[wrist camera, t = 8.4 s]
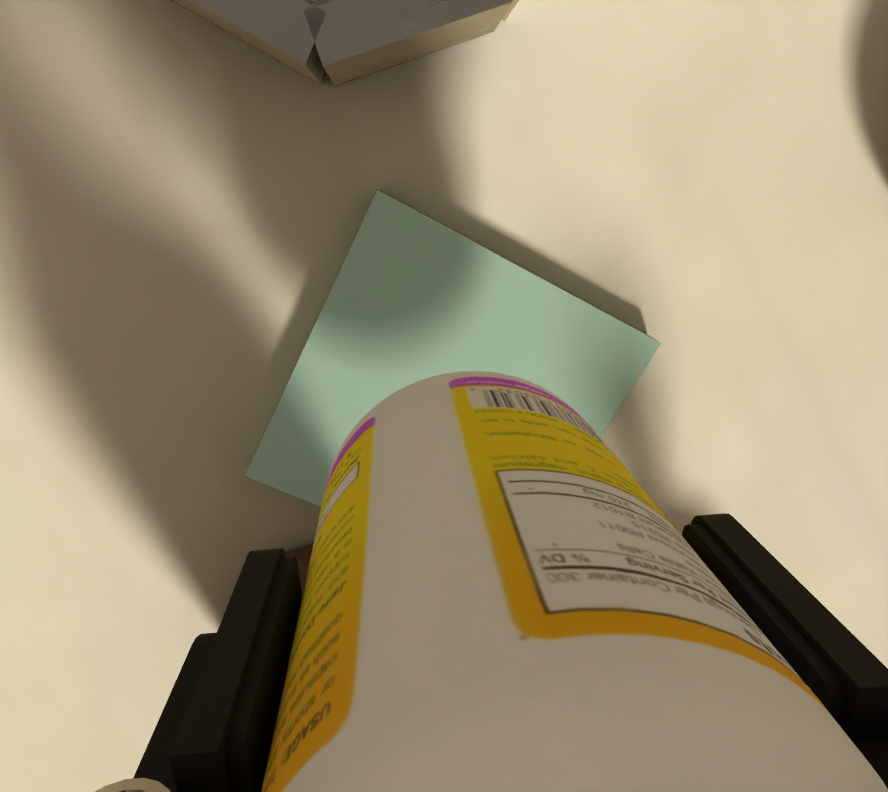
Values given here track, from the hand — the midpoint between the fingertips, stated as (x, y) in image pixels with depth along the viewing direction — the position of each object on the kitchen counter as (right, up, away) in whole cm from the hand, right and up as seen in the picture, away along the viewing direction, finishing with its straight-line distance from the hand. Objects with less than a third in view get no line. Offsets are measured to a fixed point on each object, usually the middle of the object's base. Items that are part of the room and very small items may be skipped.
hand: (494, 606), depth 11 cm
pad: (-1, +4, +10) cm, 10 cm away
